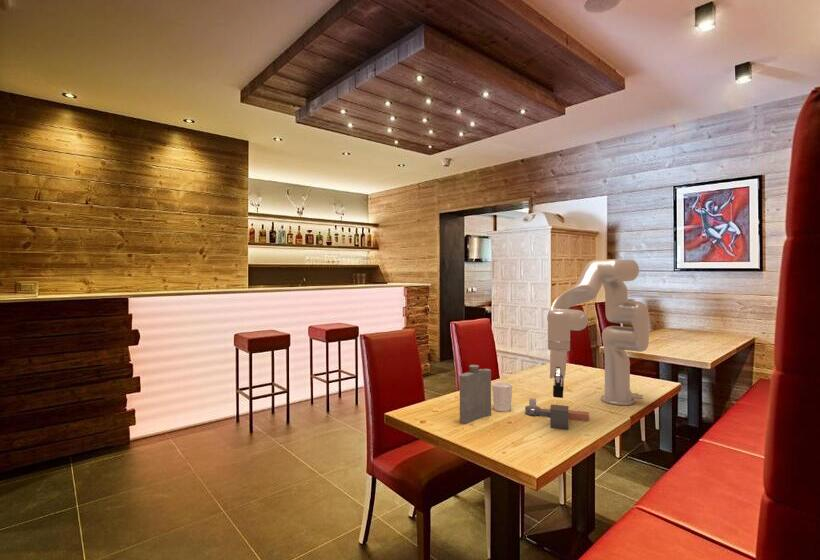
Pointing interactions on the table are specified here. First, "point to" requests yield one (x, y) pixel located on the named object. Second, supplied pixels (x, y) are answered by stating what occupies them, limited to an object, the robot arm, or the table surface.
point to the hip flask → (475, 394)
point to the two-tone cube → (559, 417)
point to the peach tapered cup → (502, 396)
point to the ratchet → (536, 411)
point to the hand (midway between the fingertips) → (558, 393)
